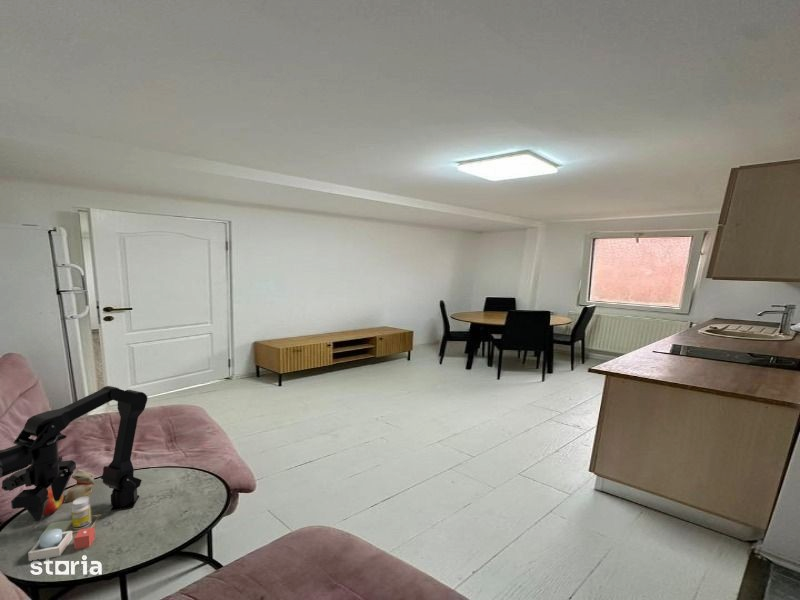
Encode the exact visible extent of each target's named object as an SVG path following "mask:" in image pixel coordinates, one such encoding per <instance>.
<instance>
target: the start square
mask: <svg viewBox="0 0 800 600" xmlns="http://www.w3.org/2000/svg"><path fill="white" fill-rule="evenodd" d="M100 517H102V514H101V513H99V514H92V518H95V520H94V522H92V523H91V524H92V525H91V526H90V527H89V528H93V527H95V525H96V523H98V521H99V519H100ZM72 526H73V525H72V522H71V523H70V524H69V526H68V527H67V528H66V530H65V531H64V532H66V531H69V529H70V528H71V527H72ZM79 530H80V529H77V530H71V531H72V534H77V533H78V532H79Z"/></svg>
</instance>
